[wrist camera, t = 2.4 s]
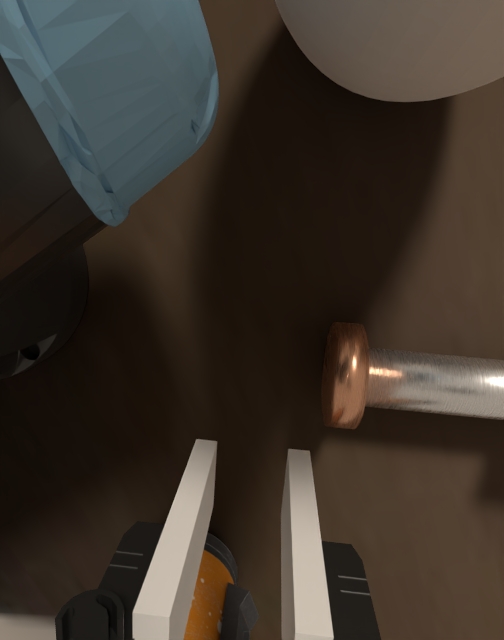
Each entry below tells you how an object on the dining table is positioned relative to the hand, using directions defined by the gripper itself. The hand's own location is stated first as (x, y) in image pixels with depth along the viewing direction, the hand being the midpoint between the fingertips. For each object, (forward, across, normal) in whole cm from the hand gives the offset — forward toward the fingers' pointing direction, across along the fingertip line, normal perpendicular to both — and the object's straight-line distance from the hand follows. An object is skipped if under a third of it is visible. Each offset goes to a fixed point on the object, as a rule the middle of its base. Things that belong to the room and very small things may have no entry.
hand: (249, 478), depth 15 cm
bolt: (+14, +16, 0) cm, 21 cm away
